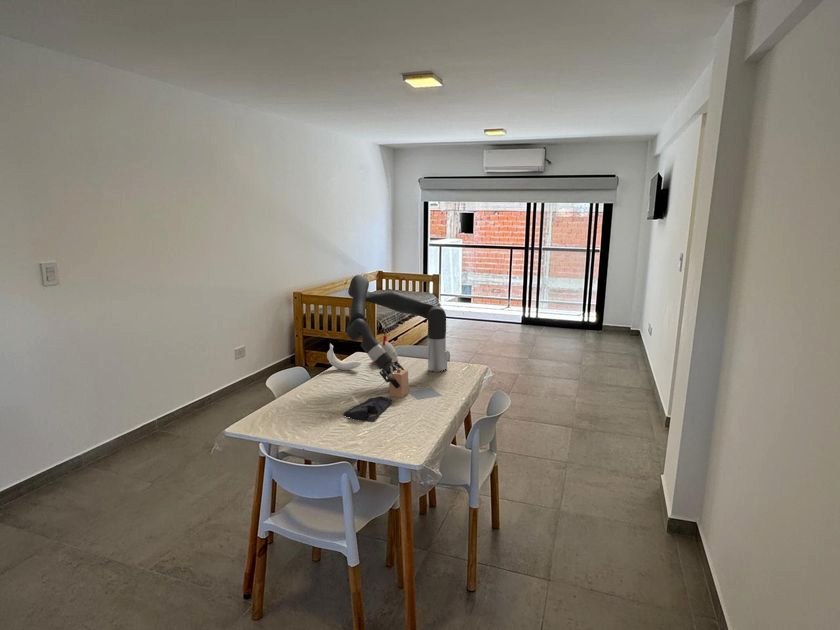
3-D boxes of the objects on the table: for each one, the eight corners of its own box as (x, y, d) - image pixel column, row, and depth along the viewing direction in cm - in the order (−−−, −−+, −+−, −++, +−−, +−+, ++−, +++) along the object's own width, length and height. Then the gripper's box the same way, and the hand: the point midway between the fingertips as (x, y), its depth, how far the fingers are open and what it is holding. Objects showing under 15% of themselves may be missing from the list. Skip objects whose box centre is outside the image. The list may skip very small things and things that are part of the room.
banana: (360, 372, 256) (359, 345, 253) (325, 370, 260) (324, 343, 257) (363, 369, 261) (362, 342, 258) (329, 367, 265) (328, 341, 262)
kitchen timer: (399, 359, 280) (399, 333, 277) (396, 366, 266) (395, 339, 263) (375, 358, 281) (374, 332, 278) (370, 365, 267) (369, 338, 265)
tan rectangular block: (396, 392, 227) (395, 366, 225) (408, 394, 225) (408, 368, 222) (389, 396, 222) (389, 370, 219) (402, 398, 219) (401, 372, 217)
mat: (430, 388, 231) (430, 387, 231) (442, 396, 221) (442, 395, 220) (407, 392, 227) (407, 391, 227) (417, 401, 216) (417, 399, 216)
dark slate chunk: (398, 405, 213) (398, 394, 212) (371, 424, 193) (371, 413, 192) (368, 399, 219) (367, 389, 218) (339, 418, 200) (338, 407, 199)
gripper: (382, 357, 232) (404, 384, 230) (366, 365, 220) (390, 394, 217) (392, 347, 229) (415, 374, 226) (376, 355, 216) (400, 384, 214)
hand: (402, 384), depth 222 cm, fingers open, 8 cm apart
